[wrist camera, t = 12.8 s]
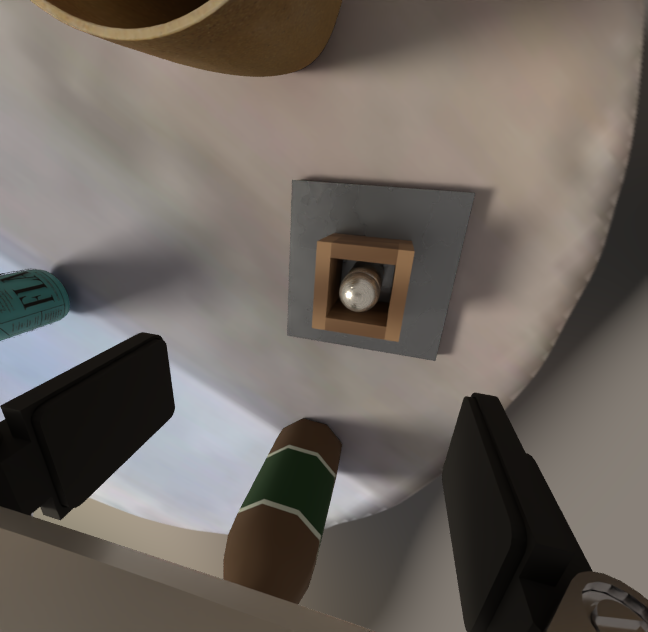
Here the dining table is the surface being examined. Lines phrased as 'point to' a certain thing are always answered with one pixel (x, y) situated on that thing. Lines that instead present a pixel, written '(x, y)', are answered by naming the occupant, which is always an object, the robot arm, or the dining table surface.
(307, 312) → the post block
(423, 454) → the dining table surface
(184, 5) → the plant pot
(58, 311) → the beverage bottle
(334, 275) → the walnut collar
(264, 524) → the beer bottle
